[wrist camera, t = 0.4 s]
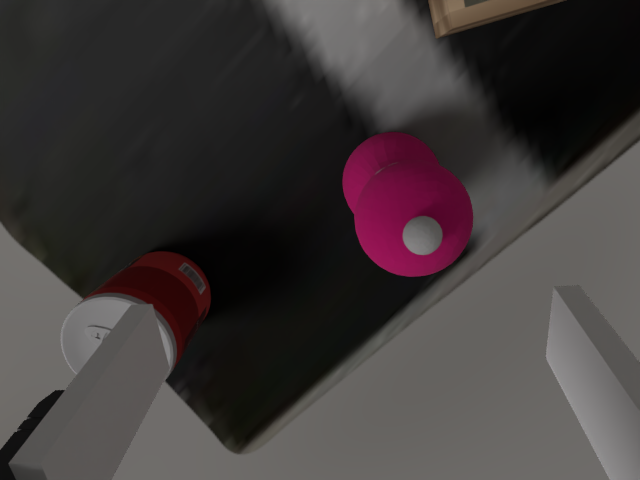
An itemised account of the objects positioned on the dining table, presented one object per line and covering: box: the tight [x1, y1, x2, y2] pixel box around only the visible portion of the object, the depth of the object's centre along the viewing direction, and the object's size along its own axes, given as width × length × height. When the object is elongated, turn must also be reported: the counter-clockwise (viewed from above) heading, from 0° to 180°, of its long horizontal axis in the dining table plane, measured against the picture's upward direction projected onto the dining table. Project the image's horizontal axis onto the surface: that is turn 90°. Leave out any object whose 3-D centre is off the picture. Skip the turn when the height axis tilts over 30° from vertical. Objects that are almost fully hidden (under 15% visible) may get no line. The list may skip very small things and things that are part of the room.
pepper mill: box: [343, 132, 473, 276], centre depth 32 cm, size 7×7×20 cm
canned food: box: [61, 251, 211, 382], centre depth 40 cm, size 8×8×11 cm
